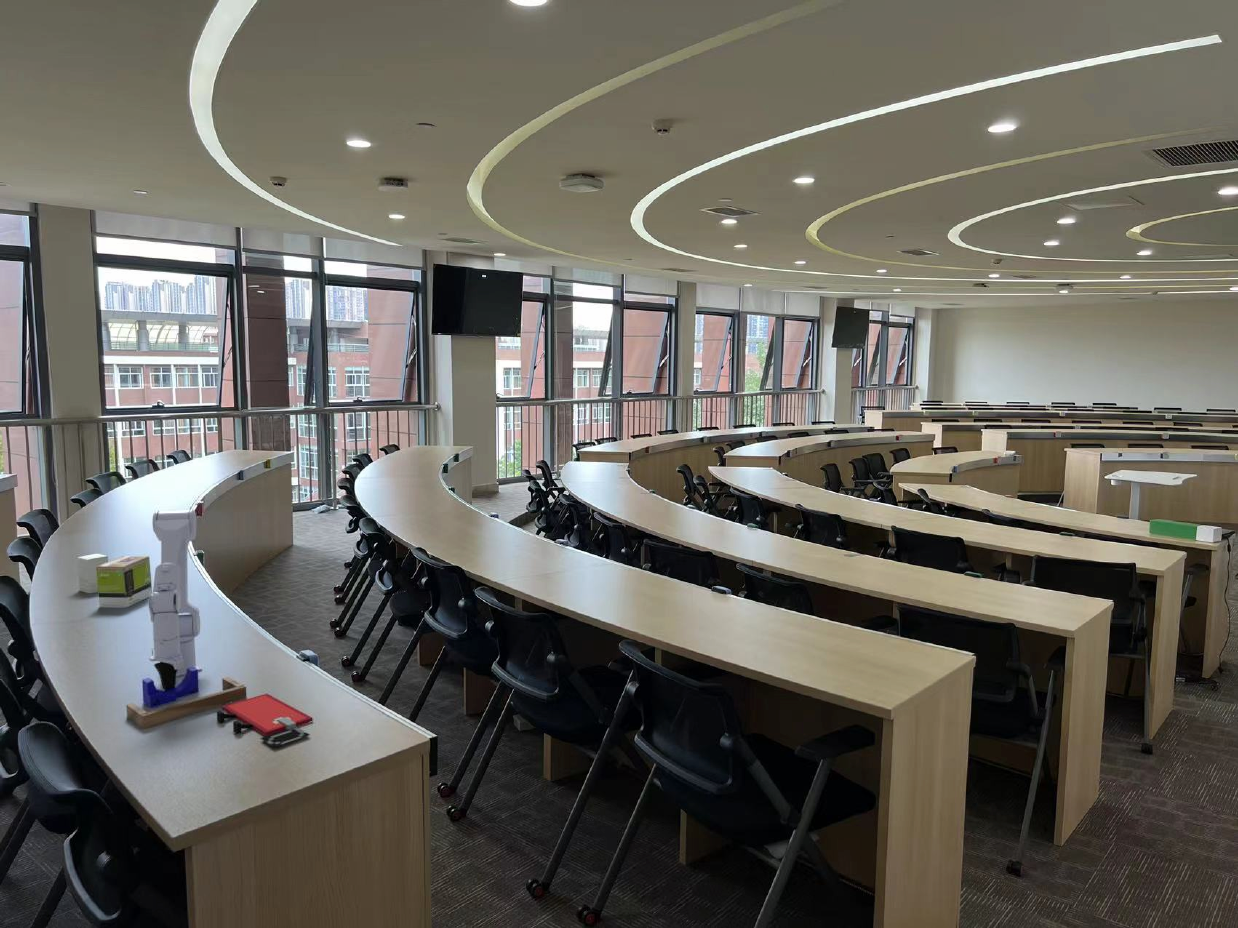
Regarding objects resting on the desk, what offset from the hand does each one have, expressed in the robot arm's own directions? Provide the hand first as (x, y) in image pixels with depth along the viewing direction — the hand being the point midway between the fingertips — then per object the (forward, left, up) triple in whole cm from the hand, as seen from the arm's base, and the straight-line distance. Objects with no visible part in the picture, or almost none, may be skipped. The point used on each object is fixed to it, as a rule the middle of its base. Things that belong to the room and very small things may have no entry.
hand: (169, 689), depth 210 cm
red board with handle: (+33, +8, -2) cm, 34 cm away
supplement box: (-120, +22, -2) cm, 122 cm away
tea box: (-96, +24, -2) cm, 99 cm away
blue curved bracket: (+3, 0, -2) cm, 3 cm away
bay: (+11, 0, -2) cm, 11 cm away
